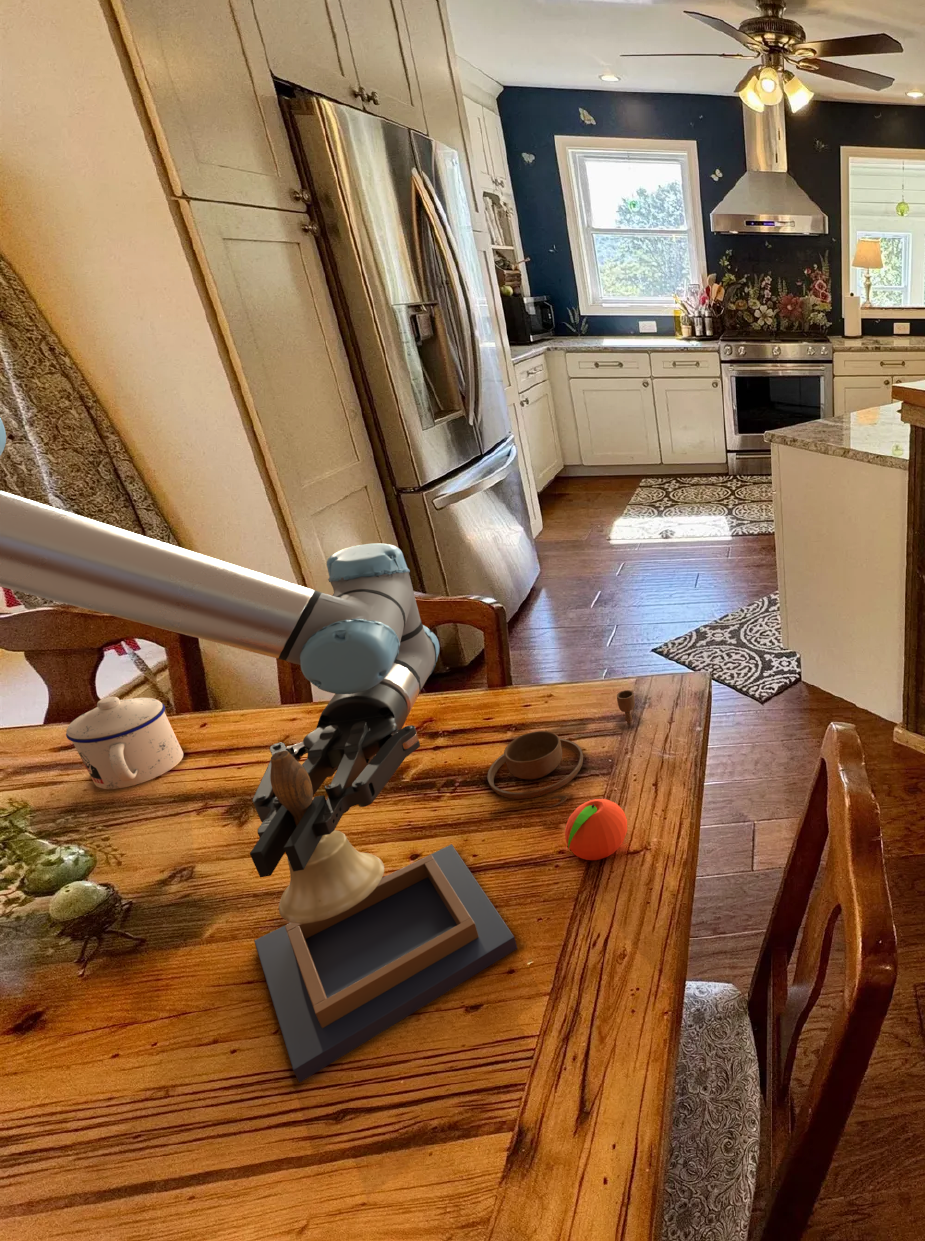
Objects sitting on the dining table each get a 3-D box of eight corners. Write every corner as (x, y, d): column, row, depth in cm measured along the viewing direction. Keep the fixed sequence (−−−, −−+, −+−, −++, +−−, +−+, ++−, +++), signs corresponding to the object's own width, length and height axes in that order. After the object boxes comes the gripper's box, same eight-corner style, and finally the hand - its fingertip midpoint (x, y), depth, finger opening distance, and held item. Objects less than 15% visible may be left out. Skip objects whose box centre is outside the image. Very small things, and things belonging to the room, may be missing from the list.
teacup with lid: (99, 767, 96) (62, 695, 92) (189, 743, 102) (158, 673, 97) (85, 817, 88) (43, 741, 83) (184, 787, 93) (150, 714, 89)
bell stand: (262, 957, 71) (247, 925, 70) (456, 859, 84) (447, 830, 82) (302, 1088, 60) (285, 1055, 58) (518, 954, 73) (510, 922, 71)
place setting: (494, 746, 103) (486, 712, 101) (638, 718, 110) (633, 686, 108) (484, 827, 88) (475, 790, 86) (650, 788, 96) (646, 753, 93)
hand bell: (374, 842, 74) (325, 715, 67) (393, 888, 68) (342, 756, 62) (273, 887, 68) (209, 754, 62) (286, 941, 63) (217, 802, 56)
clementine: (598, 887, 81) (590, 839, 78) (549, 870, 83) (539, 823, 80) (642, 838, 88) (636, 793, 85) (596, 824, 89) (588, 779, 87)
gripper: (450, 725, 84) (388, 875, 63) (304, 745, 80) (186, 913, 59) (436, 671, 81) (366, 810, 60) (283, 689, 77) (151, 845, 56)
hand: (277, 861), depth 60 cm, fingers closed on hand bell, 2 cm apart
